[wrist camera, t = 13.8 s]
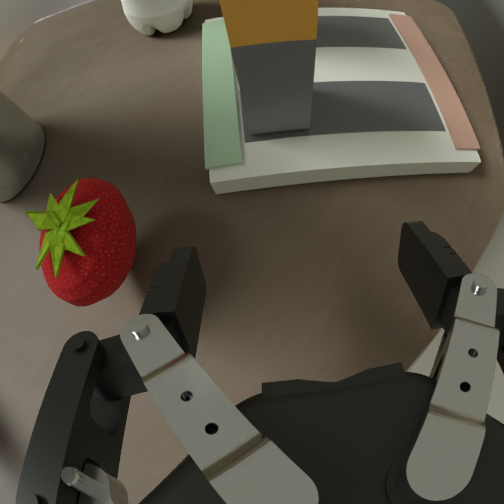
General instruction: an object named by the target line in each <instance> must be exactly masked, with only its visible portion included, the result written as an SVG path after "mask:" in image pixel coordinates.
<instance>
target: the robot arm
mask: <svg viewBox="0 0 504 504" xmlns="http://www.w3.org/2000/svg"><path fill="white" fill-rule="evenodd" d="M44 143H45V135H44V131H43V128H42V127H41V126H40V125H39V124H38V123H37V122H35V121H34V120H33V119H32V118H31V117H30V116H28V115H27V114H26V113H25V112H24V111H23V110H22V109H20V108H19V107H18V106H17V105H16V104H15V103H14V102H13V101H11V100H10V99H9V98H8V97H7V96H6V95H5V94H4V93H2V92H1V91H0V202H5V201H8V200H10V199H12V198H13V197H15V196H16V195H17V194H18V193H19V192H20V191H21V190H22V189H23V188H24V187H25V186H26V184H27V183H28V182H29V180H30V179H31V177H32V176H33V174H34V172H35V170H36V168H37V166H38V164H39V162H40V159H41V156H42V153H43V149H44ZM398 264H399V269H400V271H401V273H402V275H403V277H404V279H405V280H406V282H407V284H408V286H409V287H410V289H411V291H412V293H413V295H414V297H415V298H416V300H417V302H418V304H419V306H420V308H421V310H422V312H423V313H424V315H425V317H426V319H427V321H428V323H429V325H430V327H431V329H432V330H433V329H438V328H442V327H443V329H444V330H445V331H444V334H443V336H442V340H441V343H440V346H439V349H438V353H437V356H436V359H435V362H434V365H433V368H432V371H431V374H430V376H429V377H428V376H425V375H422V374H418V373H412V372H405V371H404V369H403V366H402V363H401V362H400V363H395V364H391V365H386V366H381V367H376V368H370V369H367V370H365V371H363V372H360V373H358V374H356V375H353V376H351V377H348V378H346V379H343V380H341V381H338V382H322V381H309V380H299V379H297V380H287V381H277V382H266V383H262V393H260V394H257V395H254V396H252V397H250V398H247V399H246V400H244V401H242V402H240V403H239V404H237V405H236V406H234V405H233V403H232V402H231V401H230V400H229V399H228V398H227V397H226V396H225V394H224V393H223V392H222V391H221V390H220V389H219V388H218V386H217V385H216V384H215V383H214V382H213V381H212V379H211V378H210V377H209V376H208V375H207V374H206V372H205V371H204V370H203V369H202V368H201V366H200V365H199V364H198V363H197V362H196V360H195V356H196V350H197V344H198V337H199V331H200V325H201V319H202V313H203V307H204V301H205V295H206V285H205V279H204V276H203V272H202V268H201V265H200V261H199V258H198V254H197V251H196V248H195V247H194V246H192V247H184V248H176V249H175V250H174V252H173V255H172V257H171V260H170V262H167V263H163V264H162V265H161V266H160V267H159V268H158V269H157V270H156V271H155V274H154V276H153V279H152V283H151V284H150V287H149V290H148V292H147V294H146V297H145V300H144V302H143V305H142V308H141V311H140V313H139V315H138V316H135V317H133V318H131V319H130V320H128V321H127V322H126V323H125V324H124V326H123V327H122V329H121V332H120V334H119V335H117V336H113V337H110V338H106V339H103V340H100V341H99V339H98V337H97V336H96V334H94V333H93V332H90V331H83V332H79V333H77V334H75V335H73V336H72V337H71V338H70V339H69V340H68V341H67V342H66V343H65V345H64V347H63V349H62V352H61V354H60V357H59V359H58V362H57V364H56V367H55V369H54V372H53V374H52V377H51V380H50V382H49V385H48V388H47V390H46V393H45V396H44V399H43V402H42V405H41V408H40V411H39V414H38V417H37V420H36V423H35V426H34V429H33V432H32V436H31V439H30V443H29V446H28V450H27V453H26V457H25V461H24V465H23V469H22V473H21V477H20V481H19V486H18V490H17V495H16V504H128V495H127V491H126V488H125V487H124V485H123V484H122V483H121V482H120V481H119V480H117V476H118V469H119V462H120V455H121V449H122V443H123V436H124V431H125V425H126V419H127V414H128V409H129V403H130V398H131V395H135V394H138V393H142V392H146V391H148V392H149V393H150V395H151V397H152V398H153V400H154V402H155V403H156V405H157V406H158V408H159V410H160V411H161V413H162V414H163V416H164V418H165V419H166V421H167V422H168V424H169V425H170V427H171V428H172V430H173V431H174V433H175V434H176V436H177V437H178V439H179V440H180V442H181V443H182V445H183V446H184V447H185V449H186V450H187V452H188V453H189V454H188V455H187V457H186V458H185V459H184V460H183V461H182V462H181V463H180V464H179V465H178V466H177V467H176V468H175V469H174V470H173V471H172V472H171V473H170V474H169V475H168V476H167V477H166V478H165V479H164V480H163V481H162V482H161V483H160V484H159V485H158V486H157V487H156V488H155V489H154V490H153V491H152V492H150V493H149V494H148V495H147V496H146V497H145V498H144V499H143V500H142V501H141V502H140V503H139V504H504V424H502V423H501V422H499V421H498V420H496V419H495V418H493V417H491V416H490V415H488V414H487V413H486V412H487V408H488V403H489V399H490V394H491V389H492V384H493V378H494V372H495V366H496V359H497V361H498V363H499V365H500V367H501V369H502V371H503V373H504V289H500V288H496V285H495V284H494V282H493V281H492V280H490V279H489V278H488V277H486V276H484V275H481V274H476V273H472V272H471V271H470V270H469V268H468V267H467V266H466V264H465V263H464V262H463V261H462V259H461V258H460V257H459V256H458V254H456V252H455V251H454V250H453V248H451V246H450V245H449V244H448V242H447V241H446V240H445V239H444V238H443V237H441V236H440V235H438V234H436V233H435V232H431V231H430V230H429V229H428V227H427V226H426V225H425V224H424V223H423V222H422V221H416V222H407V223H403V225H402V229H401V238H400V246H399V254H398Z"/></svg>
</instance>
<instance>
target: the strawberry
mask: <svg viewBox="0 0 504 504" xmlns="http://www.w3.org/2000/svg"><path fill="white" fill-rule="evenodd" d="M36 213H46V214H36ZM24 214H28V215H29V217H30V218H31V220H32V221H33V223H34V224H35V226H36V227H37V229H38V230H42V231H41V237H40V253H39V257H38V261H37V265H36V269H38V268H39V267H40V265H42V270H43V273H44V277H45V280H46V282H47V284H48V286H49V288H50V289H51V290H52V292H53V293H54V294H55V295H56V296H58V297H59V298H60V299H62V300H64V301H66V302H68V303H70V304H73V305H75V306H88V305H91V304H94V303H96V302H98V301H100V300H103V299H105V298H107V297H108V296H110V295H112V294H113V293H114V292H115V291H116V290H117V289H118V288H119V287H120V286H121V284H122V283H123V282H124V280H125V279H126V277H127V275H128V273H129V271H130V269H131V267H132V265H133V262H134V258H135V253H136V227H135V222H134V218H133V216H132V213H131V211H130V209H129V207H128V205H127V203H126V201H125V199H124V197H123V196H122V194H121V193H120V191H119V190H118V189H117V188H116V187H115V186H114V185H113V184H111V183H109V182H106V181H103V180H100V179H97V178H91V177H87V178H83V179H80V180H79V178H78V179H77V180H76V181H75V182H74V183H73V184H71V185H70V186H69V187H68V188H66V189H65V190H64V191H62V192H61V194H60V195H59V196H58V197H57V198H56V199H54V197H53V196H52V194H51V193H50V194H49V199H48V204H47V209H46V211H29V212H24Z"/></svg>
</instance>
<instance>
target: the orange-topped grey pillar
mask: <svg viewBox="0 0 504 504" xmlns="http://www.w3.org/2000/svg"><path fill="white" fill-rule="evenodd" d="M219 1H220V5H221V10H222V14H223V18H224V22H225V26H226V31H227V35H228V39H229V44H230V48H231V52H232V57H233V61H234V66H235V70H236V74H237V79H238V83H239V88H240V92H241V97H242V101H243V106H244V111H245V115H246V120H247V125H248V129H249V134H250V135H253V134H261V133H269V132H278V131H287V130H297V129H308V128H310V119H311V108H312V96H313V84H314V70H315V56H316V41H317V23H318V3H319V0H219Z"/></svg>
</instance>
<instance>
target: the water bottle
mask: <svg viewBox="0 0 504 504" xmlns="http://www.w3.org/2000/svg"><path fill="white" fill-rule="evenodd" d="M121 2H122V6H123V10H124V14H125V15H126V17H127V19H128V21H129V22H130V24H131V25H132V26H133V27H134V28H135V29H136V30H138V31H139V32H141V33H143V34H144V35H147V36H149V35H153V34H154V32H155V30H156V29H158V30H159V31H161V32H163V33H170V32H172V31H174V30H176V29H177V28H179V27H180V26H181V24H182V22H183V19H187V18H189V16H190V15H191V12H192V5H193V4H192V0H121Z"/></svg>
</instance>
